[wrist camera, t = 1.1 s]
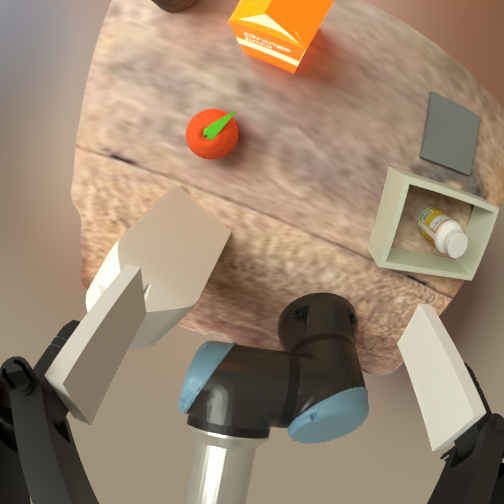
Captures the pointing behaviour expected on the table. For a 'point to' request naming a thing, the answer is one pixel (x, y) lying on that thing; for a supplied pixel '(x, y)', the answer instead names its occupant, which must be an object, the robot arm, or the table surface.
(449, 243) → the supplement bottle
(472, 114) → the slate mat
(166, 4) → the brown rounded bar
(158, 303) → the milk
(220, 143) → the clementine
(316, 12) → the orange juice
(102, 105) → the table surface
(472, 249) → the open box
